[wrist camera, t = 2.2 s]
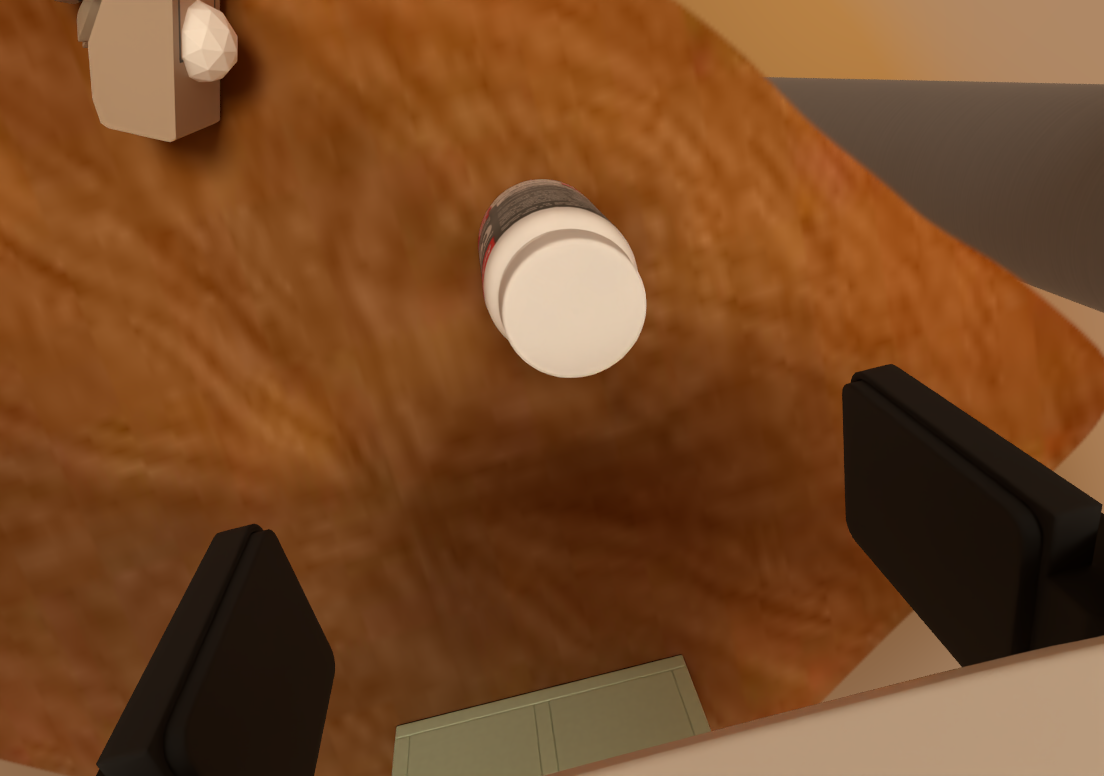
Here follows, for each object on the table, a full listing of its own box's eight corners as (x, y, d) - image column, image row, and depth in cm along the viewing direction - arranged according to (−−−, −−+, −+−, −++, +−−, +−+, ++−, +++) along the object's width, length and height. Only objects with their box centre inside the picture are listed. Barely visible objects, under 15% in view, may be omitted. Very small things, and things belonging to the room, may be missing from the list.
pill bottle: (458, 204, 25) (457, 261, 18) (579, 158, 25) (631, 195, 17) (504, 318, 27) (521, 413, 20) (616, 277, 27) (677, 356, 20)
